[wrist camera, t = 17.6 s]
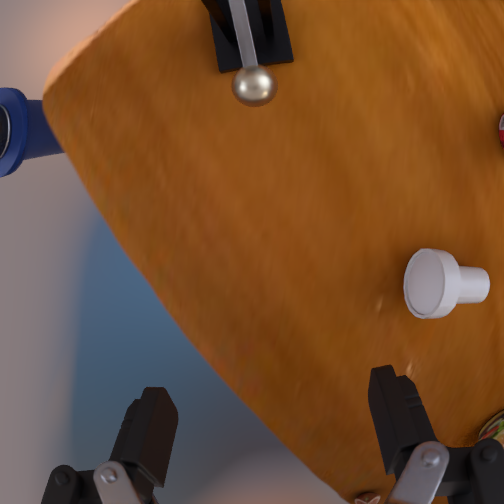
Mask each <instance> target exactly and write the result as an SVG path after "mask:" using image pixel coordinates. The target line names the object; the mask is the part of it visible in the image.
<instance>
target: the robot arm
mask: <svg viewBox="0 0 504 504" xmlns="http://www.w3.org/2000/svg"><path fill="white" fill-rule="evenodd" d="M11 134H12V122H11V116H10V113H9V111H8V109H7V108H6V107H5V106H4V105H2V104H0V159H2V158H3V156H4V155H5V153H6V152H7V149H8V147H9V144H10V140H11ZM368 402H369V407H370V411H371V415H372V418H373V422H374V426H375V430H376V434H377V438H378V442H379V446H380V450H381V454H382V458H383V462H384V467H385V471H386V475H389V474H393V473H394V474H395V478H396V483H395V484H394V486H393V488H392V490H391V492H390V493H389V495H388V497H387V499H386V500H385V502H384V504H431V502H432V500H433V498H434V496H447V498H448V503H449V504H504V448H503V446H502V445H501V443H500V442H499V441H497V440H495V439H492V438H485V439H482V440H480V441H478V442H477V443H476V444H475V445H474V447H462V448H451V447H447V446H445V445H443V444H441V443H440V442H439V441H438V440H437V438H436V436H435V434H434V432H433V429H432V426H431V424H430V421H429V418H428V416H427V413H426V411H425V408H424V406H423V405H422V401H421V398H420V396H419V394H418V391H417V389H416V386H415V384H414V383H413V382H412V381H411V380H410V379H409V378H408V377H407V376H406V375H403V376H398V377H396V374H395V372H394V369H393V367H392V365H385V366H381V367H376V368H372V369H371V375H370V382H369V389H368ZM177 425H178V412H177V409H176V407H175V405H174V403H173V401H172V400H171V398H170V396H169V394H168V392H167V390H166V389H165V388H164V387H146V388H145V389H144V391H143V393H142V396H141V399H135V400H134V401H133V403H132V404H131V405H130V406H129V407H128V409H127V412H126V414H125V417H124V421H123V422H122V425H121V429H120V431H119V434H118V436H117V439H116V442H115V445H114V448H113V451H112V453H111V456H110V459H109V460H108V461H106V462H103V463H102V464H100V465H99V466H98V467H97V468H96V469H95V470H87V471H75V470H74V469H73V468H72V467H70V466H68V465H60V466H58V467H56V468H55V469H54V470H53V471H52V472H51V474H50V477H49V480H48V483H47V486H46V489H45V492H44V495H43V499H42V502H41V504H159V503H158V502H157V499H156V498H155V496H154V494H153V489H154V486H155V487H162V488H163V487H164V483H165V478H166V473H167V469H168V464H169V460H170V455H171V451H172V446H173V442H174V438H175V433H176V429H177Z"/></svg>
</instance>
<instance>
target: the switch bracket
mask: <svg viewBox="0 0 504 504" xmlns="http://www.w3.org/2000/svg"><path fill="white" fill-rule="evenodd" d="M201 1H202V2H203V4H204V5H205V7H206V8H207V10H208V11H209V14H210V20H211V26H212V32H213V38H214V43H215V49H216V55H217V61H218V67H219V71H220V72H221V73H226V72H231V71H237V70H239V69H240V68H242V67H243V64H242V59H241V54H240V50H239V45H238V40H237V36H236V31H235V27H234V22H233V18H232V13H231V9H230V4H229V0H201ZM245 5H246V9H247V14H248V19H249V23H250V28H251V32H252V37H253V42H254V47H255V52H256V57H257V62H258V64H260V65H263V66H266V65H273V64H281V63H289V62H293V61H294V58H293V53H292V48H291V44H290V39H289V34H288V30H287V25H286V21H285V16H284V12H283V8H282V4H281V0H245Z"/></svg>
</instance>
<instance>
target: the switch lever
mask: <svg viewBox="0 0 504 504" xmlns="http://www.w3.org/2000/svg"><path fill="white" fill-rule="evenodd" d="M229 4H230V9H231V13H232V18H233V22H234V27H235V31H236V36H237V40H238V45H239V50H240V54H241V59H242V64H243V67H242V68H240V69H239V70H238V71H237V72H236V73H235V75H234V77H233V79H232V92H233V94H234V96H235V98H236V99H237V100H238V101H239V102H241V103H242V104H244V105H246V106H249V107H260V106H263V105H266V104H268V103H269V102H270V101H272V99H273V98H274V97H275V95H276V93H277V90H278V81H277V78H276V76H275V74H274V73H273V72H272V71H271V70H270V69H269V68H268V67H266V66H263V65H260V64H258V62H257V57H256V52H255V47H254V42H253V37H252V32H251V28H250V23H249V19H248V14H247V9H246V5H245V0H229Z"/></svg>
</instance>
